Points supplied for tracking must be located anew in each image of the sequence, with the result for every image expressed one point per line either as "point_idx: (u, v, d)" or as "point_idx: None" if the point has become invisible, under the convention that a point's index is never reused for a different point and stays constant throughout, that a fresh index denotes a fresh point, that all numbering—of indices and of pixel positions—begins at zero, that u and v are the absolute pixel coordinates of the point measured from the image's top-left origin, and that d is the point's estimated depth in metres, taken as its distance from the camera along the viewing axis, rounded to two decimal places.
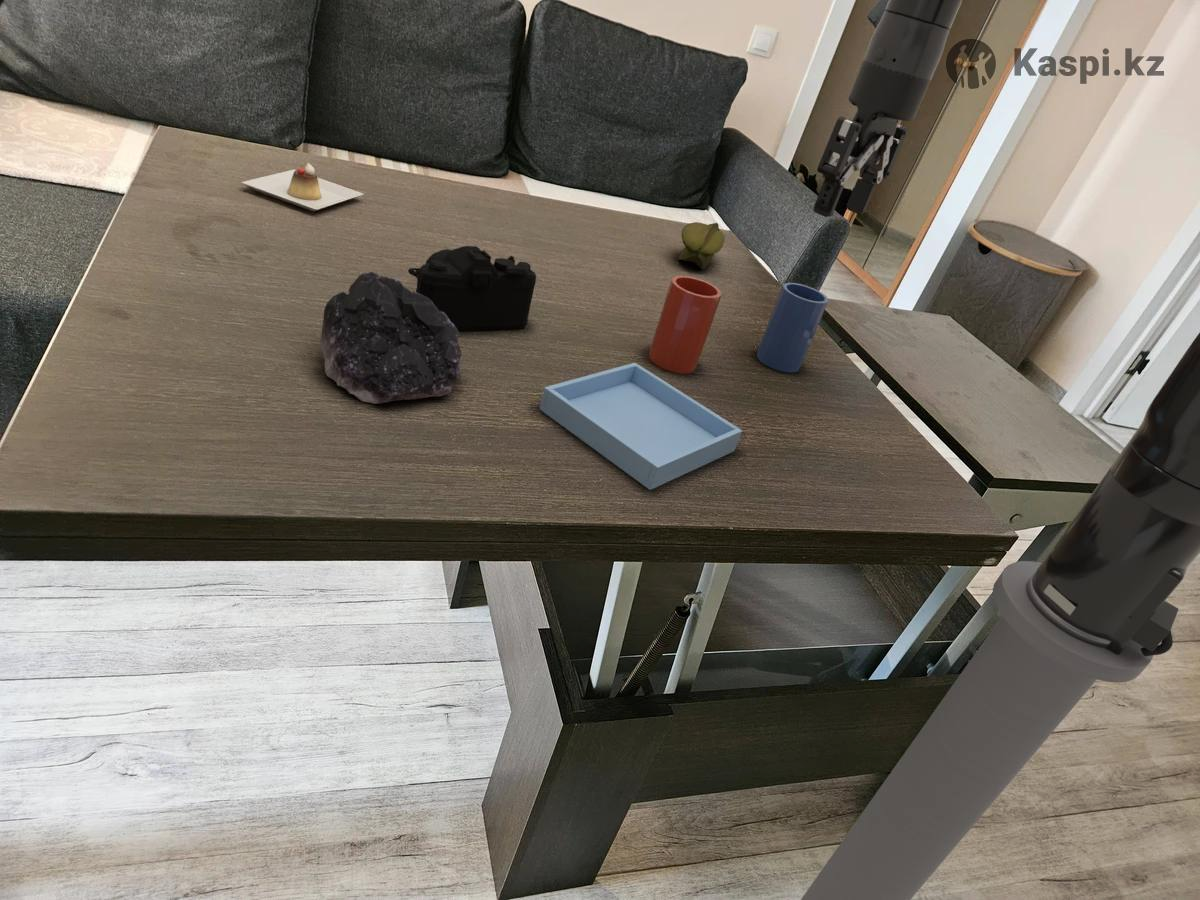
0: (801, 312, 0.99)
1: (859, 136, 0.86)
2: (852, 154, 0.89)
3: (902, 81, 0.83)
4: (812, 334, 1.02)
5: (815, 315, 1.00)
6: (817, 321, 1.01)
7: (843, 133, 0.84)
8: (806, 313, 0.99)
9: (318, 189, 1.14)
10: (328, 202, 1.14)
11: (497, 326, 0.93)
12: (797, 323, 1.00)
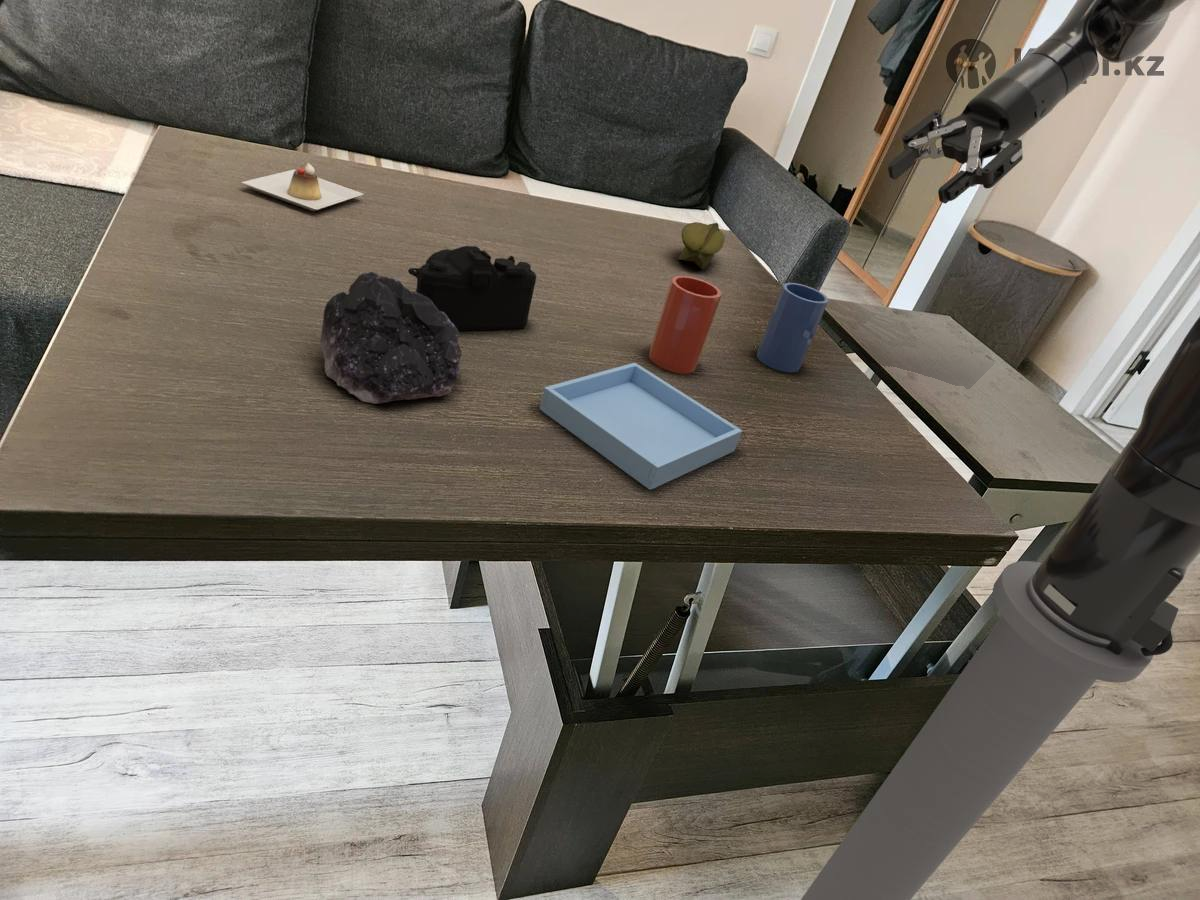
0: (801, 312, 0.99)
1: (945, 125, 1.01)
2: None
3: None
4: (812, 334, 1.02)
5: (815, 315, 1.00)
6: (817, 321, 1.01)
7: None
8: (806, 313, 0.99)
9: (318, 189, 1.14)
10: (328, 202, 1.14)
11: (497, 326, 0.93)
12: (797, 323, 1.00)
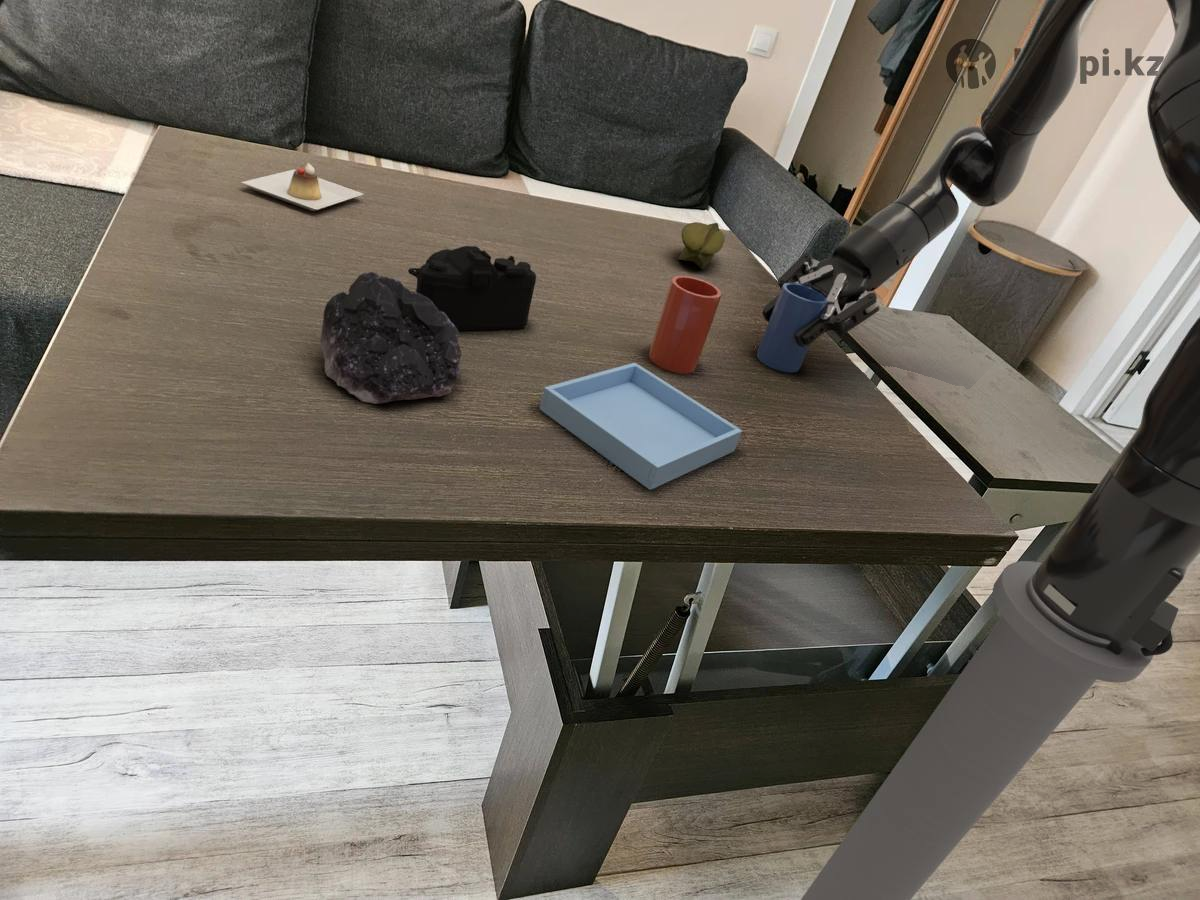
0: (801, 312, 0.99)
1: (816, 266, 1.05)
2: None
3: None
4: None
5: (815, 315, 1.00)
6: None
7: None
8: (806, 313, 0.99)
9: (318, 189, 1.14)
10: (328, 202, 1.14)
11: (497, 326, 0.93)
12: (797, 323, 1.00)
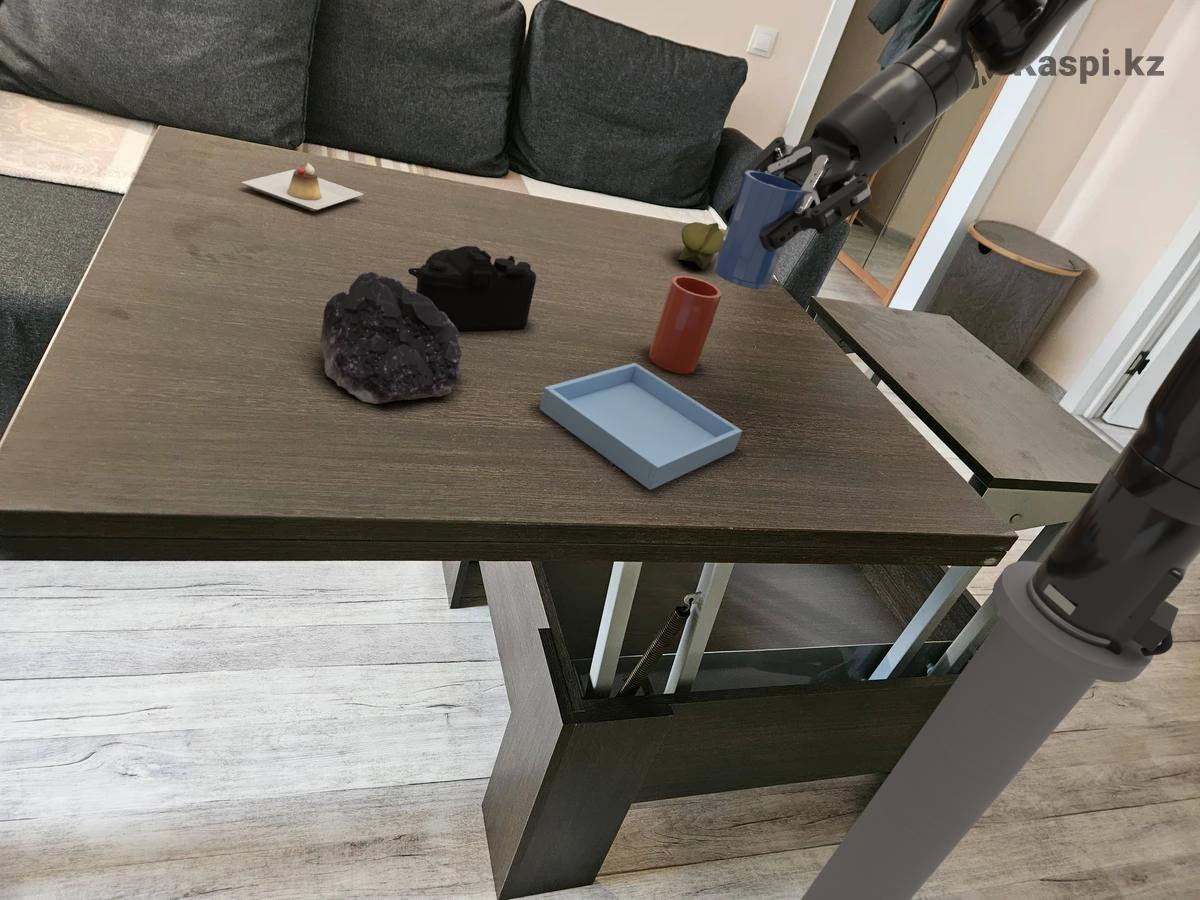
0: (768, 204, 0.75)
1: (790, 153, 0.81)
2: None
3: None
4: None
5: (787, 208, 0.76)
6: None
7: None
8: (775, 205, 0.75)
9: (318, 189, 1.14)
10: (328, 202, 1.14)
11: (497, 326, 0.93)
12: (763, 219, 0.76)
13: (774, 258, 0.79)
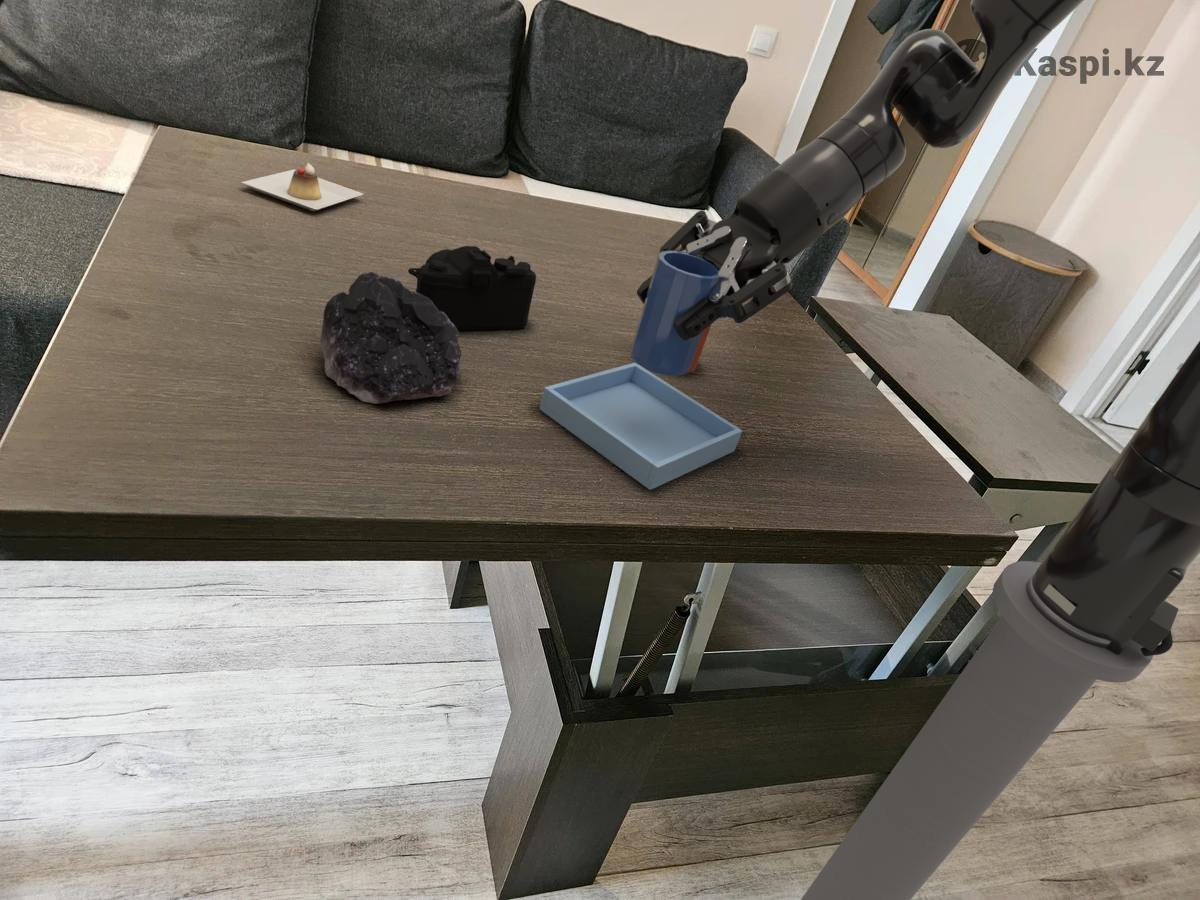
0: (681, 291, 0.70)
1: (712, 229, 0.76)
2: None
3: None
4: None
5: (702, 295, 0.71)
6: None
7: None
8: (689, 292, 0.70)
9: (318, 189, 1.14)
10: (328, 202, 1.14)
11: (497, 326, 0.93)
12: (677, 307, 0.71)
13: (691, 344, 0.74)
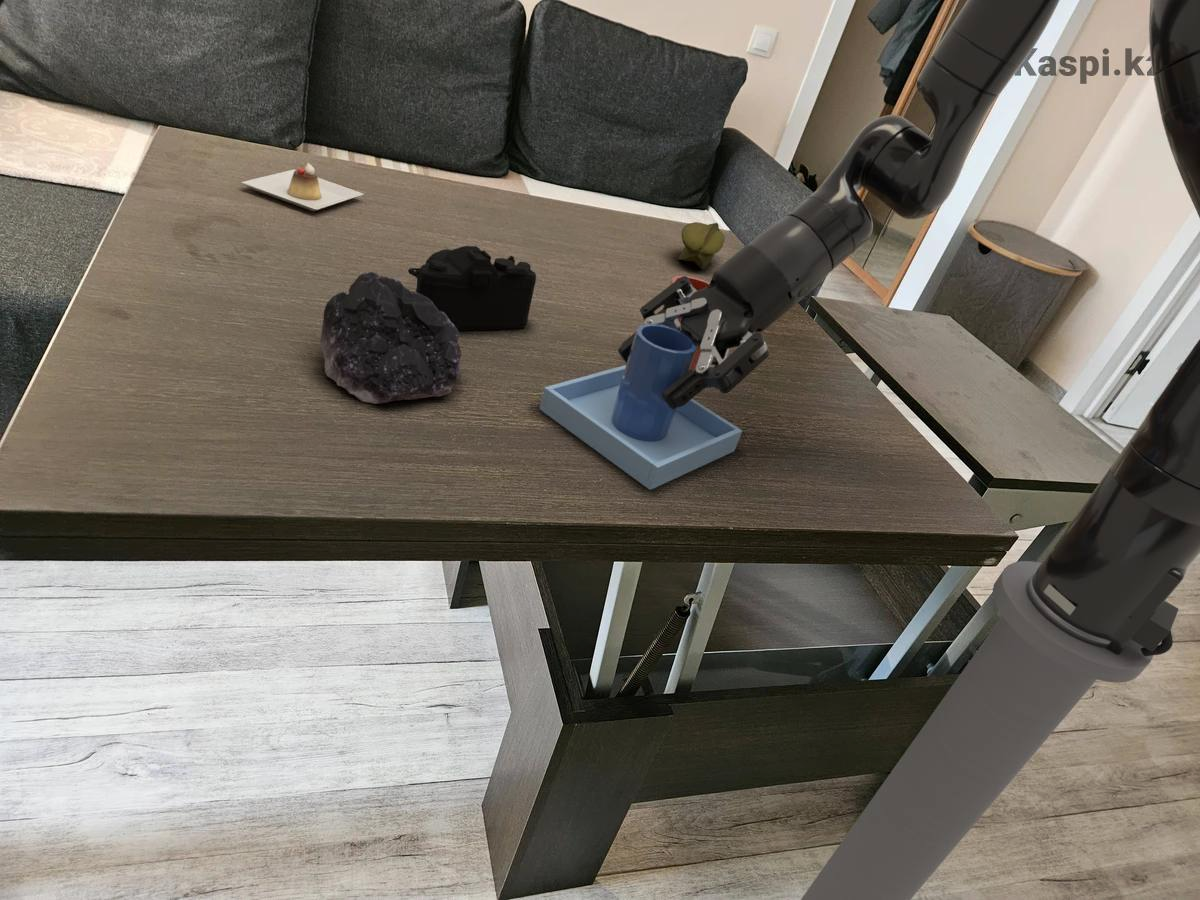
0: (658, 365, 0.74)
1: (689, 299, 0.80)
2: None
3: None
4: None
5: (677, 369, 0.75)
6: None
7: None
8: (665, 366, 0.74)
9: (318, 189, 1.14)
10: (328, 202, 1.14)
11: (497, 326, 0.93)
12: (654, 379, 0.75)
13: (668, 413, 0.78)
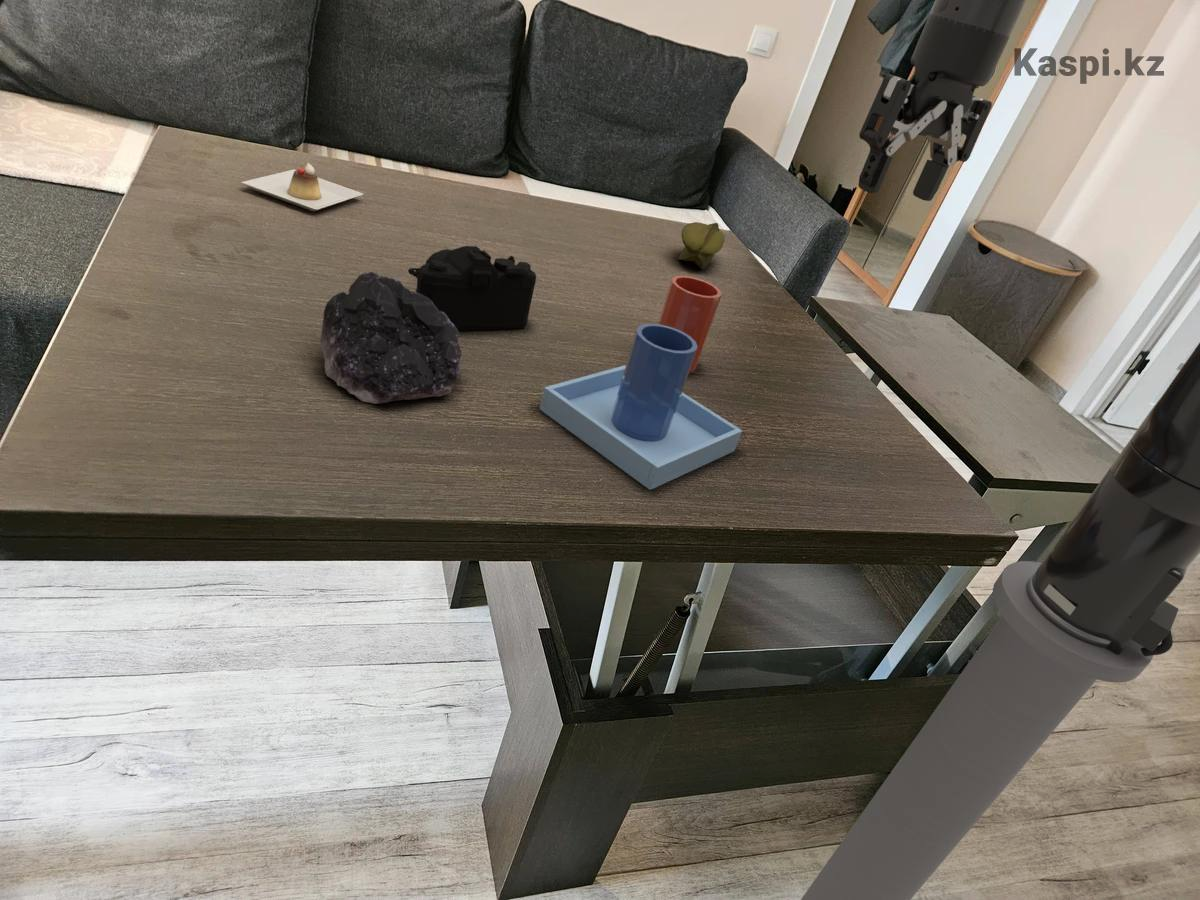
0: (658, 365, 0.74)
1: (912, 99, 0.75)
2: (908, 123, 0.77)
3: (965, 34, 0.71)
4: (677, 392, 0.77)
5: (677, 369, 0.75)
6: (682, 376, 0.76)
7: (888, 92, 0.73)
8: (665, 366, 0.74)
9: (318, 189, 1.14)
10: (328, 202, 1.14)
11: (497, 326, 0.93)
12: (654, 379, 0.75)
13: (668, 413, 0.78)
